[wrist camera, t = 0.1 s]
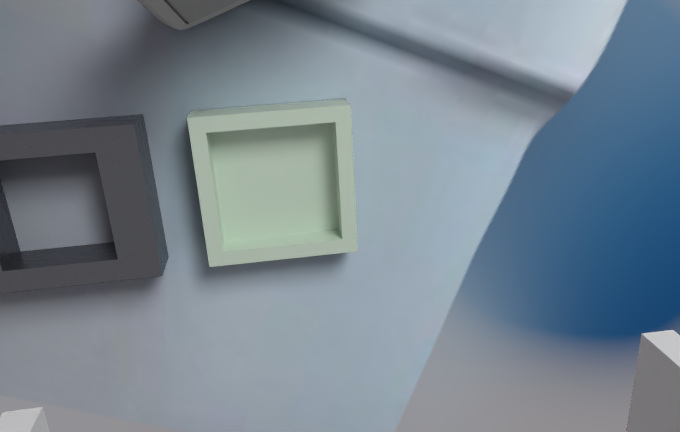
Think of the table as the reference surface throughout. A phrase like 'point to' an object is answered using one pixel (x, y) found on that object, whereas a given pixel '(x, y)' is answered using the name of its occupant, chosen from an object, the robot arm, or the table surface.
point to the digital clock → (188, 10)
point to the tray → (275, 180)
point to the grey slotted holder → (120, 195)
